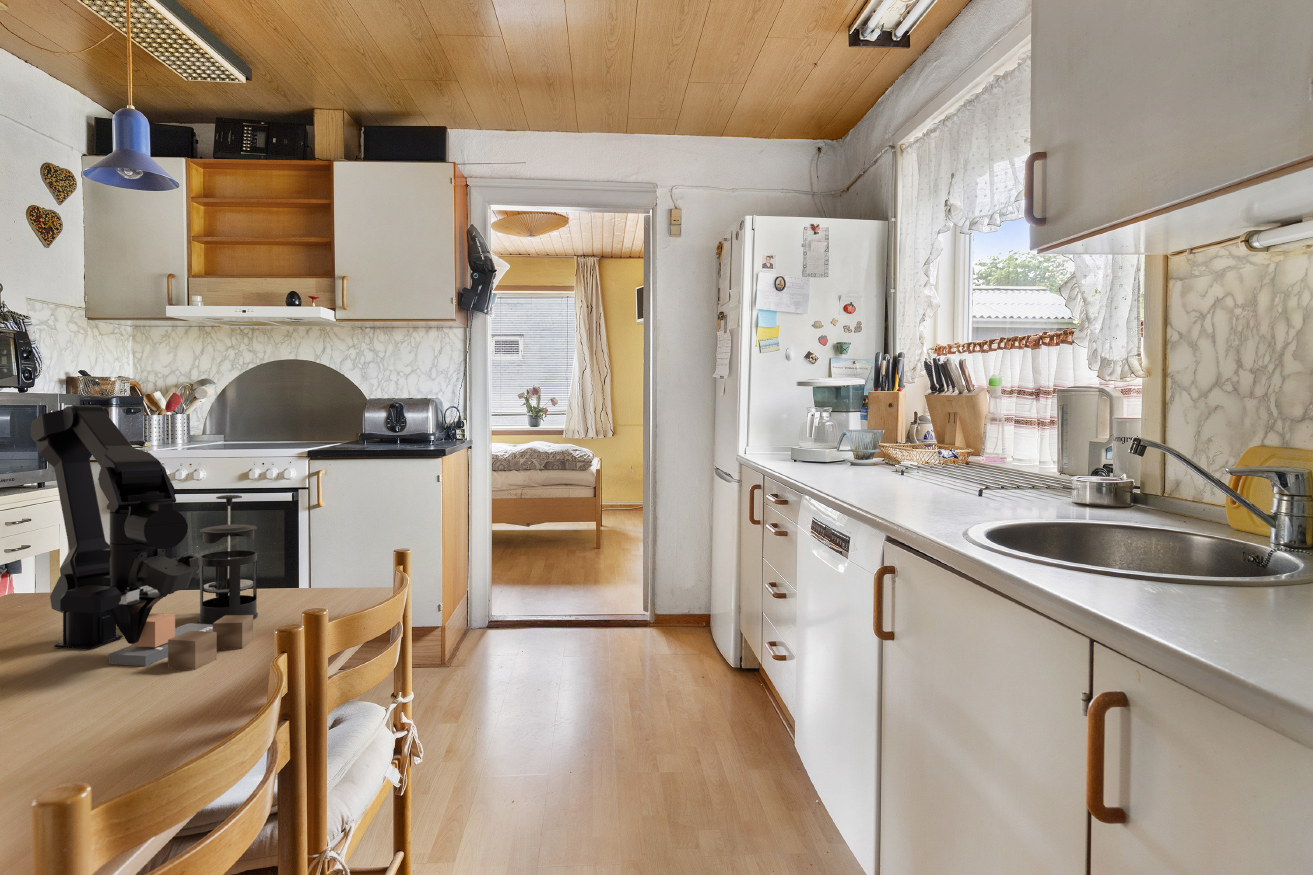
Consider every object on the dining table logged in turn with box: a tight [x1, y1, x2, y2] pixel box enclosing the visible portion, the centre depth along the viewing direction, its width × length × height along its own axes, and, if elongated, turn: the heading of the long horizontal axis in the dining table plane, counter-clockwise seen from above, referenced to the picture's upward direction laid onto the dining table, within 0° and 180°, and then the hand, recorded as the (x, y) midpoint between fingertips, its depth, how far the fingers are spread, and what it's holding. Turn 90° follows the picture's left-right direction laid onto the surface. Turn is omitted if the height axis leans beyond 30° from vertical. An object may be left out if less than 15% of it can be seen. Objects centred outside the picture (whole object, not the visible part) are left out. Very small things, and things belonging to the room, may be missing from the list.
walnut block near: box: [167, 631, 218, 671], centre depth 108 cm, size 4×4×4 cm
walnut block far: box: [213, 615, 254, 651], centre depth 117 cm, size 4×4×4 cm
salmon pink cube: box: [130, 612, 176, 647], centre depth 112 cm, size 4×4×4 cm
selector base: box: [108, 622, 213, 667], centre depth 115 cm, size 6×16×2 cm, turn 175°
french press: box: [198, 494, 259, 625], centre depth 131 cm, size 12×9×23 cm
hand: (133, 642), depth 108 cm, fingers closed
